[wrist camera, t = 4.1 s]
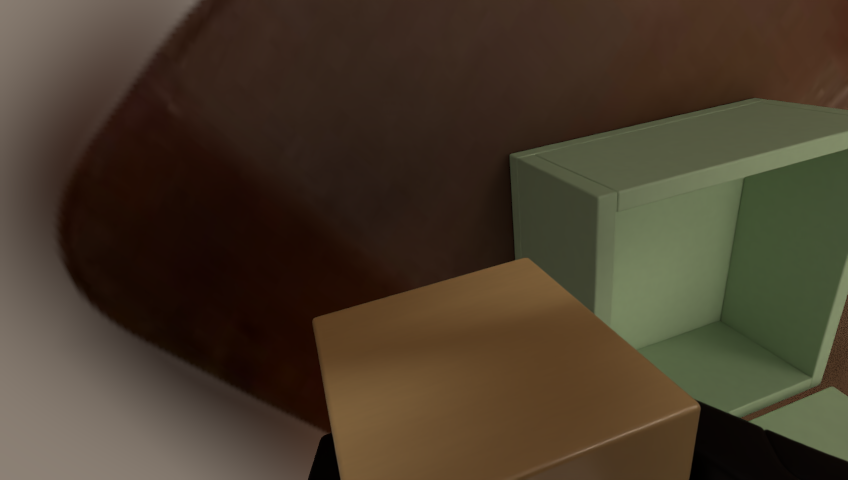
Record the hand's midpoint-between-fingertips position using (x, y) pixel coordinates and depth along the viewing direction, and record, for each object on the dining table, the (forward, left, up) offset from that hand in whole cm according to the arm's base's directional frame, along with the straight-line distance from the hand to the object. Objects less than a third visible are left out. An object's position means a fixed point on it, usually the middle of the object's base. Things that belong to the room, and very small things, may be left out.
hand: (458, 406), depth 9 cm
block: (0, 0, -1) cm, 1 cm away
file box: (+13, -5, -10) cm, 17 cm away
